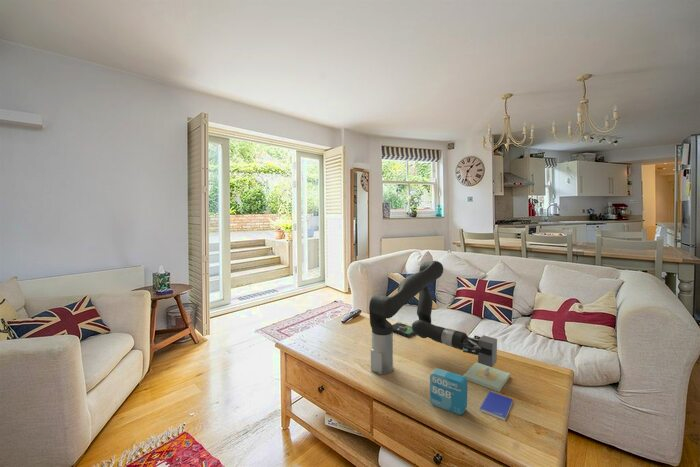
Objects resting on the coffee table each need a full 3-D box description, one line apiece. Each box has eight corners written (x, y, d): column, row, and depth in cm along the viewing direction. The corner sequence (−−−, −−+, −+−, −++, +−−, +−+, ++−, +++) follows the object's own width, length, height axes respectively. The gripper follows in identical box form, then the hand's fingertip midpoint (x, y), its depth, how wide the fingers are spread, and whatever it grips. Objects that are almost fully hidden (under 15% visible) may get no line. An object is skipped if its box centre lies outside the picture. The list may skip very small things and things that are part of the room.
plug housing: (492, 367, 121) (492, 343, 120) (478, 362, 125) (478, 339, 124) (496, 361, 125) (497, 338, 124) (482, 357, 129) (483, 335, 128)
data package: (429, 403, 109) (429, 372, 108) (434, 397, 113) (434, 366, 112) (463, 416, 102) (463, 383, 101) (467, 409, 106) (467, 377, 105)
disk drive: (387, 331, 175) (408, 338, 165) (387, 326, 175) (408, 333, 165) (398, 326, 183) (419, 333, 172) (398, 322, 182) (419, 328, 172)
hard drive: (505, 417, 100) (512, 399, 110) (479, 407, 105) (489, 390, 115) (505, 422, 100) (512, 403, 110) (479, 411, 105) (489, 394, 115)
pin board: (499, 392, 115) (499, 383, 115) (463, 378, 125) (463, 370, 125) (509, 376, 126) (509, 368, 125) (475, 365, 135) (475, 357, 135)
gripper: (447, 336, 129) (488, 348, 117) (460, 325, 139) (499, 335, 128) (447, 352, 129) (487, 366, 118) (460, 341, 140) (499, 352, 128)
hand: (493, 350), depth 123 cm, fingers closed on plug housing, 5 cm apart
